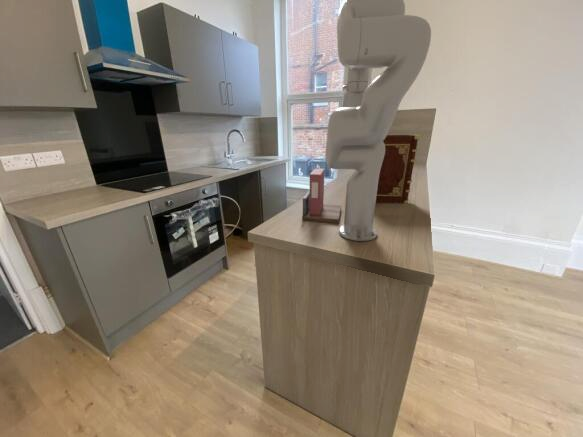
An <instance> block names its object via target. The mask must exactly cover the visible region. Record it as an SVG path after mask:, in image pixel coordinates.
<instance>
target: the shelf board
mask: <svg viewBox="0 0 583 437" xmlns="http://www.w3.org/2000/svg"><path fill="white" fill-rule="evenodd" d="M341 212H342V205H336V204H323V207H322V210H321V212H320V215H311V214H309V211H308V212H307V214H306V216H304V215H303V214H302V217H301V221H302V222H311V223H322V224H334V225H335V224H336V225H339V223H340V217H341Z"/></svg>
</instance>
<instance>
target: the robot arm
mask: <svg viewBox="0 0 583 437" xmlns="http://www.w3.org/2000/svg"><path fill="white" fill-rule="evenodd" d="M405 13H406V5H405V1H404V0H343V1H342V4H341V6H340V7H339V10H338V16H337V20H336V22H337V23H336V33H337V34H336V38H337V55H338V61H339V62H340V64H341V66H343V67H345V68H347V82H346V84H345V85H342V90H344V91H345V92H344V93H343V94H344V95H343V100H342V107H338V108H336V109H334V110H333V111H332V112H331V114H330V116H329V119H328V124H327V133H326V144H325V156H324V157H325V163H326V165H327V167H328V168H330V169H332V170H353V171H354V172H353V173H352V174H351V175H350V177H349V178H348V181H347V183H346V192H345V203H344V204H345V205H344V207H345V208H344V221H343V225H341V226H340V227H338V228H339V230H338V233H339V234H340V235H341V237H343V238H344V239H347V240H351V241H356V242H367V241H372V240H374V239H375V238H376V237H377V235H378V232H377V229H376V228H374V222H375V221H374V219H375V212H376V204H377V203H376V196H377V188H378V180H379V174H380V170H381V166H382V163H383V159H384V155H385V144H384V142H383V140H384V139H385V138H386V136H387V135H389V132H390V129H391V128H392V124H393V123H394V120H395V117H396V114H397V111H398V109H399V107H400V104H401V102H402V101H403V98H404V97H405V95H406V94H407V92H408V91H409V90H410V88H411V87H412V85H414V83H415V81H416V80H417V78H418V76H419V74H420V73H421V71H422V69H423V66H424V65H425V64H424V63H425V61H426V59H427V56H428V53H429V49H430V45H431V38H432V28H431V26H430V23H429V22H428V20H427V19H425V18H424V17H420V16H418V15H412V14H410V15H409V14H408V15H407V14H405ZM384 67H387V68H386V69H385V70H384V71H382V72H381V73H380V74H379V75H377V77H376V78H374V80H373V81H372V82H371V83H370V84H369V78H370V77H369V75H370V69H383V68H384Z"/></svg>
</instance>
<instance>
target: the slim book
mask: <svg viewBox="0 0 583 437" xmlns="http://www.w3.org/2000/svg"><path fill="white" fill-rule="evenodd" d="M309 189H310V199H309V214H311V215H320V212H321V210H322V207H323V205H324V196H325V193H324V192H325V168H314V169H313V170H312V171H311V173H309Z"/></svg>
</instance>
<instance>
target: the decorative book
mask: <svg viewBox="0 0 583 437" xmlns="http://www.w3.org/2000/svg"><path fill="white" fill-rule="evenodd" d="M419 139H420V135H419V134H387V136H386V138H385V139H384V140H383V142H384V144H385V155H384V159H383V163H382V166H381V170H380V174H379V180H378V188H377V196H376V204H405V205H406V204H407V205H408V203H409V194H410V192H411V183H413V182H412V181H413V180H412V175H413V170H414V164H415V162H416V153H417V151H418V149H417V146H418V141H419Z"/></svg>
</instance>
